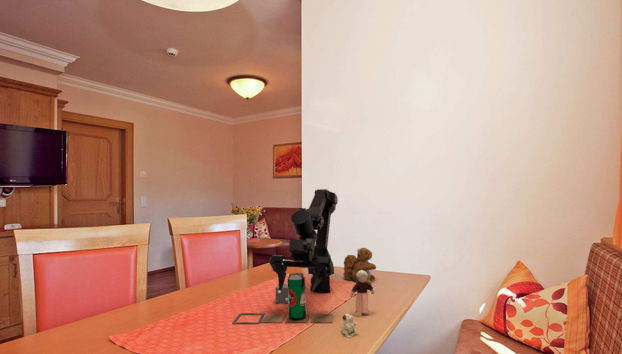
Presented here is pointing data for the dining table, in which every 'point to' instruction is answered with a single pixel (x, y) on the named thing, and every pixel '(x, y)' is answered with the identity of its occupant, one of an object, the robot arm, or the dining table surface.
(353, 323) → the toy dog
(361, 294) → the grandmother figurine
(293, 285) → the soda can
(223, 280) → the dining table surface
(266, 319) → the game track
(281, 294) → the die
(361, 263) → the stuffed squirrel
